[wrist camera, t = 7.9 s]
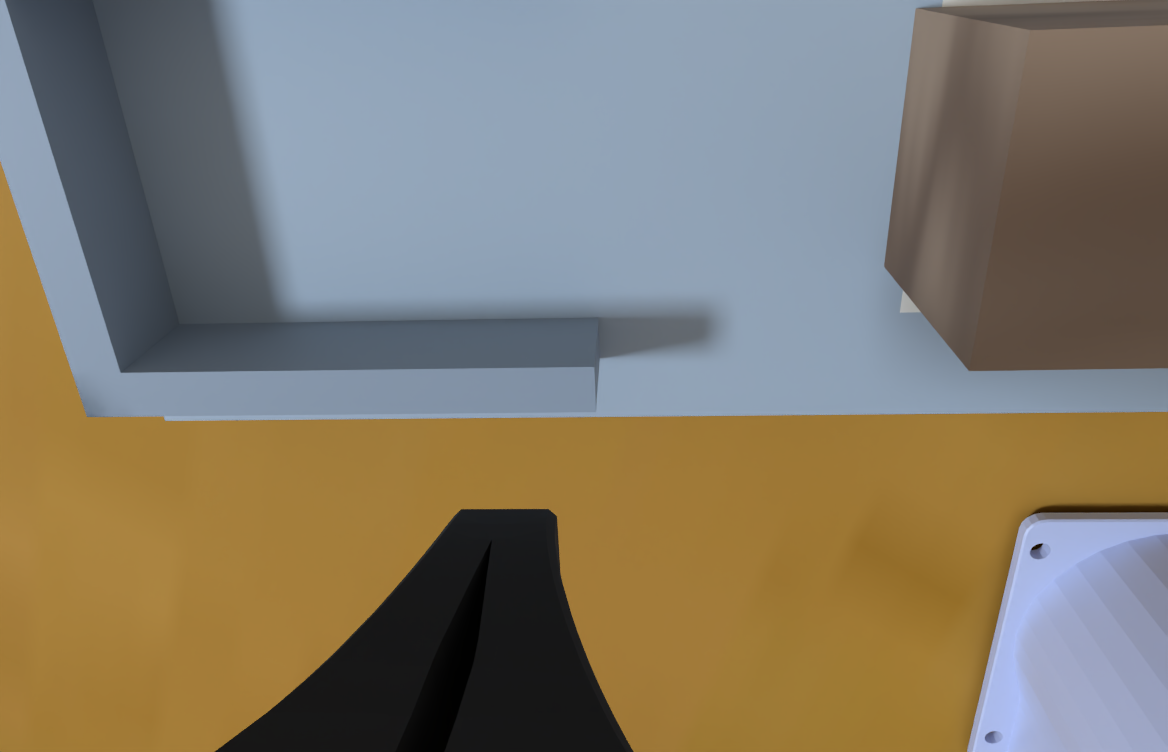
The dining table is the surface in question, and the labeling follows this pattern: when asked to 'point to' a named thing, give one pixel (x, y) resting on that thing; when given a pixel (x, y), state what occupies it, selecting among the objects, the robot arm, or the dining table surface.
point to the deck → (484, 210)
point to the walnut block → (1037, 184)
